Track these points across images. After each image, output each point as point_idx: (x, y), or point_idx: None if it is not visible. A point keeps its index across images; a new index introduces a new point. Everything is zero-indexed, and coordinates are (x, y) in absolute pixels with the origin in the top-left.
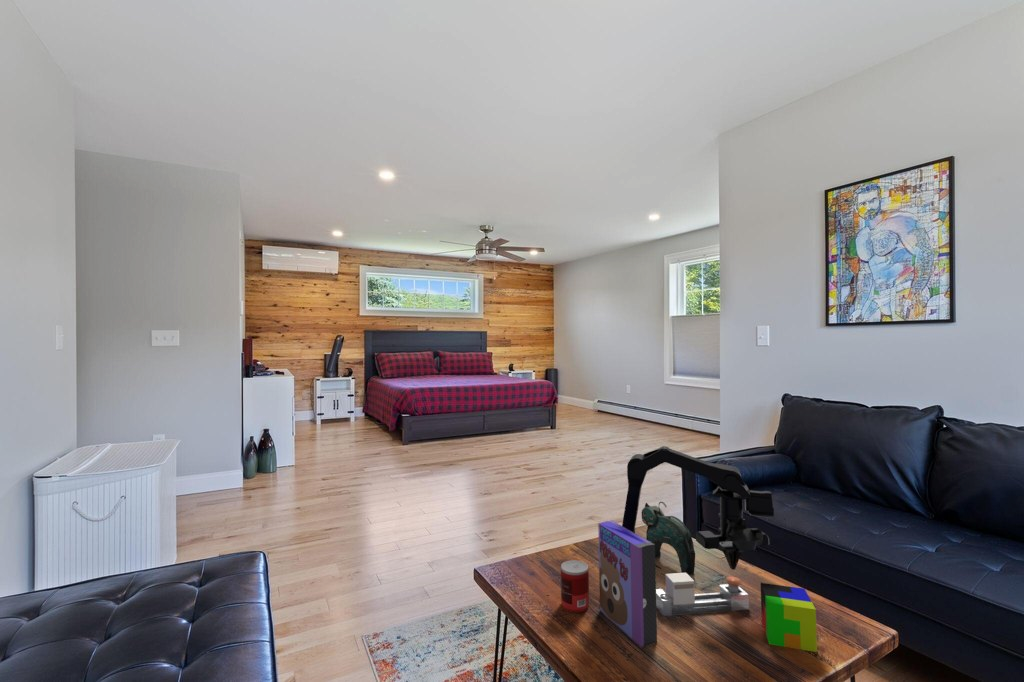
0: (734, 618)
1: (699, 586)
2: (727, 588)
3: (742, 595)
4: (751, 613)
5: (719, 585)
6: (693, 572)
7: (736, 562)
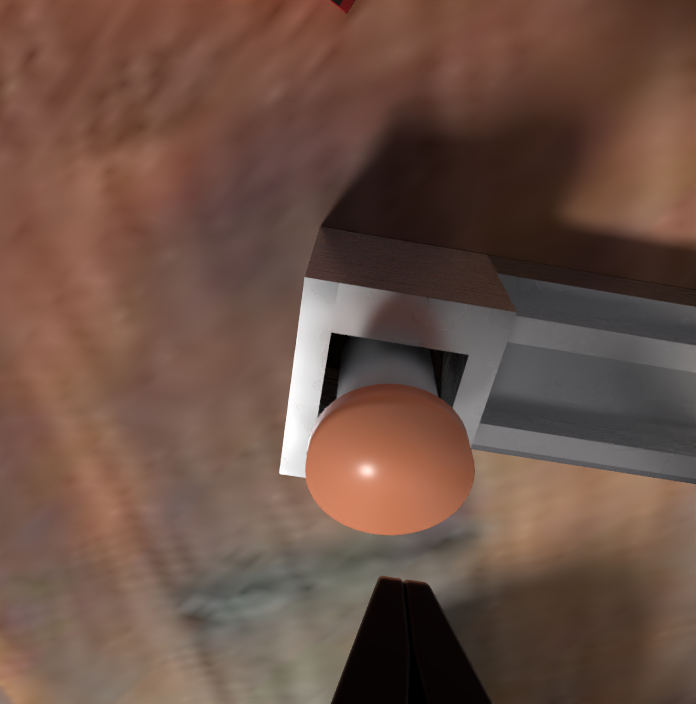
0: (568, 141)
1: (445, 567)
2: None
3: (378, 289)
4: (344, 165)
5: None
6: None
7: (368, 693)
